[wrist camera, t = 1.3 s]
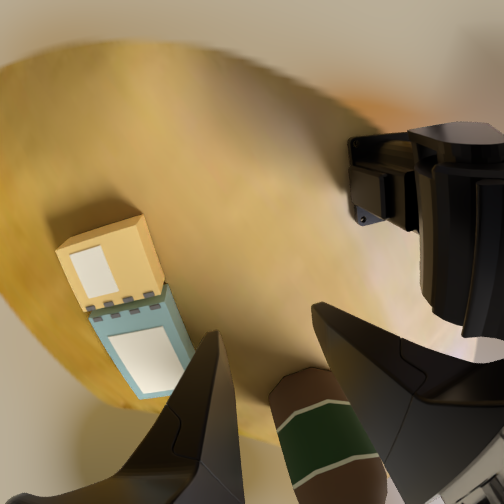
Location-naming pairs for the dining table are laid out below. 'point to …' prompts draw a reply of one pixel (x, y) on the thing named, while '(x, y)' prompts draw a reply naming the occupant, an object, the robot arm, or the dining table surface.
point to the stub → (112, 264)
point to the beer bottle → (325, 442)
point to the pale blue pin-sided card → (146, 342)
